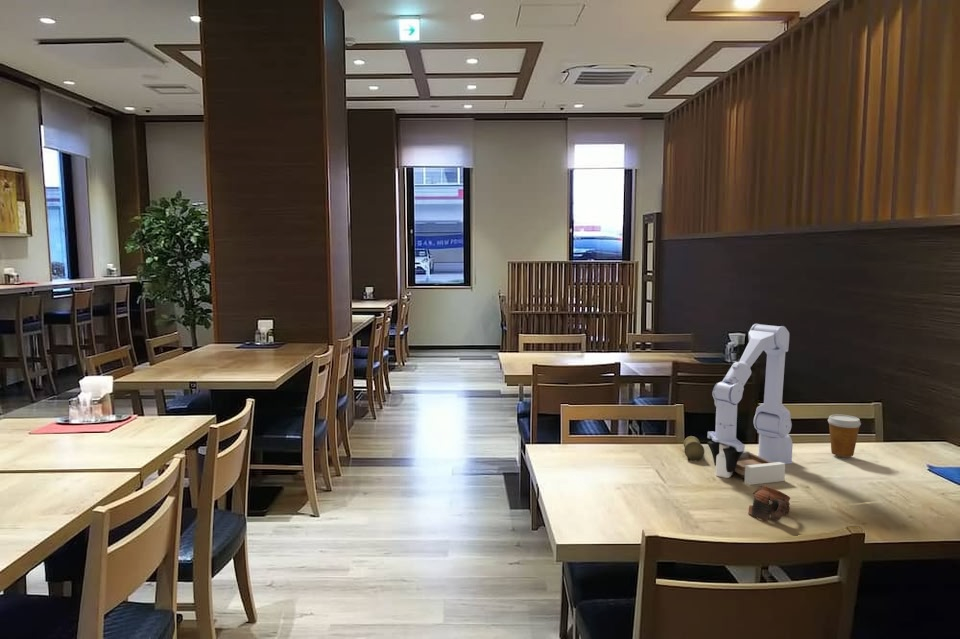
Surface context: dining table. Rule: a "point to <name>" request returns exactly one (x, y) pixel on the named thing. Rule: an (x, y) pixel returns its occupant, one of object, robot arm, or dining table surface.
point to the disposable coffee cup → (843, 434)
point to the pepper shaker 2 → (722, 463)
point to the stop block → (764, 473)
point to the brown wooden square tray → (748, 462)
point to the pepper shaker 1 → (693, 448)
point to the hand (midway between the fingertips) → (724, 468)
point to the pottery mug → (765, 509)
